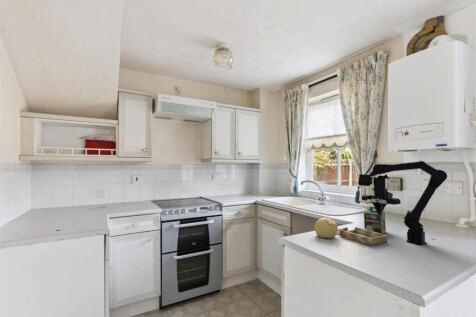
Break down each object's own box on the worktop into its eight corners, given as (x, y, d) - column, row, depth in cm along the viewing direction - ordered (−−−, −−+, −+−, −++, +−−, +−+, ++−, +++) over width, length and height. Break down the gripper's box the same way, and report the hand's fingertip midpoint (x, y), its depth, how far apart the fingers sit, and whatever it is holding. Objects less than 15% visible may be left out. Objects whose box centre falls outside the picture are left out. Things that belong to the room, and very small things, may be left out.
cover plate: (350, 233, 138) (350, 227, 139) (341, 236, 132) (341, 230, 132) (327, 228, 150) (327, 222, 150) (318, 230, 144) (318, 225, 144)
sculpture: (340, 240, 124) (339, 220, 124) (316, 239, 126) (315, 219, 127) (335, 234, 135) (335, 215, 135) (313, 233, 138) (313, 214, 138)
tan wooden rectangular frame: (387, 242, 121) (387, 235, 121) (370, 246, 115) (370, 239, 115) (356, 233, 137) (356, 227, 137) (340, 236, 131) (340, 229, 131)
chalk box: (386, 231, 140) (385, 206, 140) (381, 235, 133) (380, 208, 134) (369, 228, 146) (368, 204, 147) (363, 231, 140) (363, 206, 140)
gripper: (406, 187, 125) (407, 217, 125) (373, 184, 142) (373, 210, 142) (393, 188, 120) (394, 219, 120) (360, 185, 137) (361, 212, 137)
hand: (380, 215), depth 130 cm, fingers closed
